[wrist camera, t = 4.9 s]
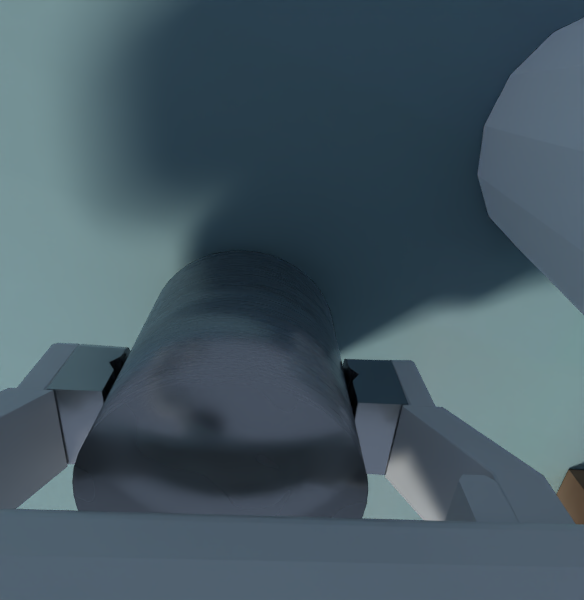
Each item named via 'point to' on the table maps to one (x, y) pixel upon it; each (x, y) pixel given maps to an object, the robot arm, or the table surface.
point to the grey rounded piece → (229, 403)
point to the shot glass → (541, 160)
